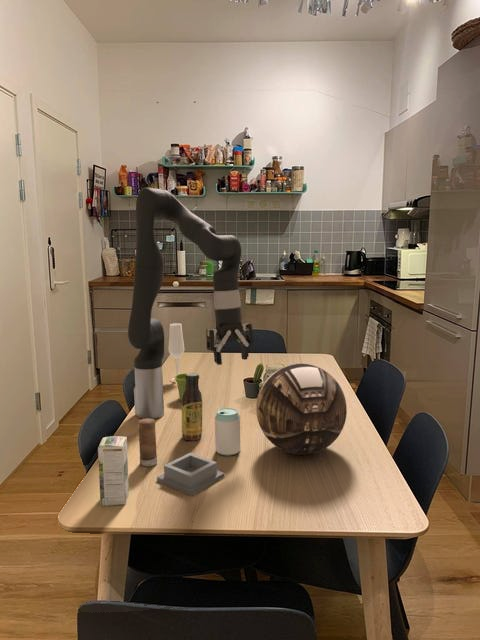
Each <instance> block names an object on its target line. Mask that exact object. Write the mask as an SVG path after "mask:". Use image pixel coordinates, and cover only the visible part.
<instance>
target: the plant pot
mask: <svg viewBox="0 0 480 640" xmlns="http://www.w3.org/2000/svg"><path fill="white" fill-rule="evenodd" d="M187 373H188V372H183V373H179V374H178V375H176V374H175V376H174V377H173V378H175V379H176V382H177V383H176V385H177V390H178V395H179V400H180V401H182V397H183V394H184V391H185V390H186V379H185V376H186V374H187ZM200 376H201V375H200V374H199V378H201V377H200Z"/></svg>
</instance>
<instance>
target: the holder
mask: <svg viewBox="0 0 480 640" xmlns="http://www.w3.org/2000/svg"><path fill="white" fill-rule="evenodd" d="M224 477H225V472H222V471H220V470H218V463H217V461H214V460H212V459H209V458H206V457H203V456H200V455H199V454H198V455H197V454H196V453H192V452H189V453H186V454H185V455H183V456H181V457H178V458H176V459H173V461H172V460H171V461H170V462H169V463H166V464H164V465H163V474H160V475H158V476H156V481H157V482H159V483H161V484H164V485H166V486H169V487H170V488H173V489H175V490H176V491H180V492H181V493H184V494H185V495H188V496H190V497H191V496H194V495H196V494H197V493H199V492H200V491H203V490H204V489H206V488H207V487H209V486H210V485H213V484H214V483H216V482H218V481H220V480H221V479H223V478H224Z"/></svg>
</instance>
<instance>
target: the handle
mask: <svg viewBox="0 0 480 640" xmlns="http://www.w3.org/2000/svg"><path fill="white" fill-rule="evenodd" d="M137 423H138V425H137V426H138V442H139V445H138V446H139V464H140V466H141V467H142V468H146V469H147V468H153V467H155V466H157V464H158V455H157V437H156V436H157V435H156V433H157V432H156V420H155V419H140V420H138V422H137Z"/></svg>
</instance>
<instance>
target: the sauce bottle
mask: <svg viewBox="0 0 480 640" xmlns="http://www.w3.org/2000/svg"><path fill="white" fill-rule="evenodd" d="M186 373H187V374H186V376H185V379H186V390H185V391H184V394H183V397H182V400H181V403H182V404H181V437H182V439H183V440H185V441H197V440H199V439H201V438H202V435H203V397H202V392H201V390H200V389H199V387H200V386H199V380H200V377H199V375H200V374H199V372H186Z"/></svg>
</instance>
